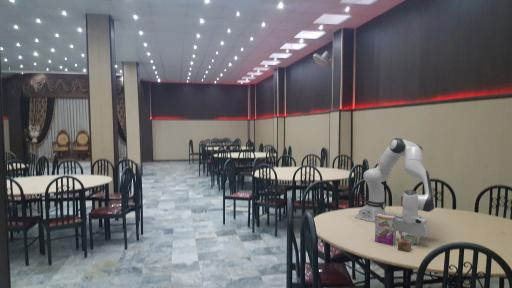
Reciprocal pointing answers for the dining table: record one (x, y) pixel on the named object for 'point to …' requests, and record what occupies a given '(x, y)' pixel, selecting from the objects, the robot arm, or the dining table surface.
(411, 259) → the dining table surface
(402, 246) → the walnut block
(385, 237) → the candy bar box
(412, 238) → the sage cube
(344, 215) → the dining table surface
